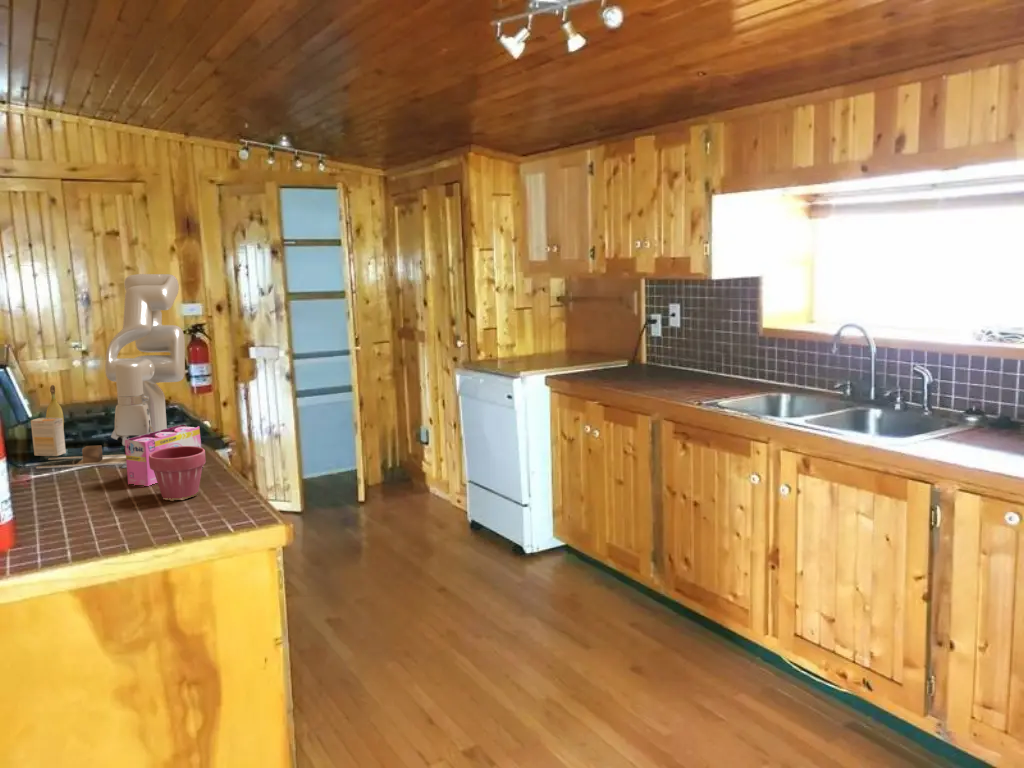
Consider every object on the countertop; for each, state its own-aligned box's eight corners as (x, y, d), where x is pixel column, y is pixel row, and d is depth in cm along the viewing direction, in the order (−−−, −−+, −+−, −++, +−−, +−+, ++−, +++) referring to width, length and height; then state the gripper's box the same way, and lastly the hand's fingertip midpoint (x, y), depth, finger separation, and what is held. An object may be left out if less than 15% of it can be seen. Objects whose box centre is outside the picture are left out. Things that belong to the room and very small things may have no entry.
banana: (58, 451, 270) (53, 393, 266) (39, 453, 267) (33, 394, 264) (67, 437, 290) (62, 384, 287) (48, 439, 288) (44, 384, 285)
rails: (149, 457, 262) (149, 453, 261) (140, 466, 250) (140, 462, 250) (49, 462, 255) (49, 457, 255) (36, 472, 244) (35, 467, 243)
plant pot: (147, 506, 211) (144, 459, 209) (156, 491, 224) (153, 447, 222) (204, 502, 214) (202, 456, 212) (209, 487, 228) (207, 444, 226)
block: (102, 458, 255) (101, 445, 254) (98, 462, 251) (97, 448, 250) (87, 459, 254) (86, 446, 253) (83, 463, 250) (82, 449, 249)
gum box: (186, 465, 253) (184, 423, 251) (206, 467, 250) (204, 425, 248) (127, 484, 231) (123, 439, 229) (148, 487, 228) (144, 441, 226)
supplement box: (66, 456, 263) (63, 417, 261) (57, 459, 259) (53, 420, 257) (43, 455, 264) (40, 417, 262) (33, 459, 260) (30, 419, 257)
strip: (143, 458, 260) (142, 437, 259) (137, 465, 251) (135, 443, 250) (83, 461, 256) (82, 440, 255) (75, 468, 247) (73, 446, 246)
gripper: (161, 397, 257) (164, 452, 260) (106, 399, 254) (110, 455, 257) (155, 401, 250) (159, 458, 253) (99, 403, 247) (104, 460, 250)
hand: (135, 456), depth 255 cm, fingers closed on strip, 3 cm apart
